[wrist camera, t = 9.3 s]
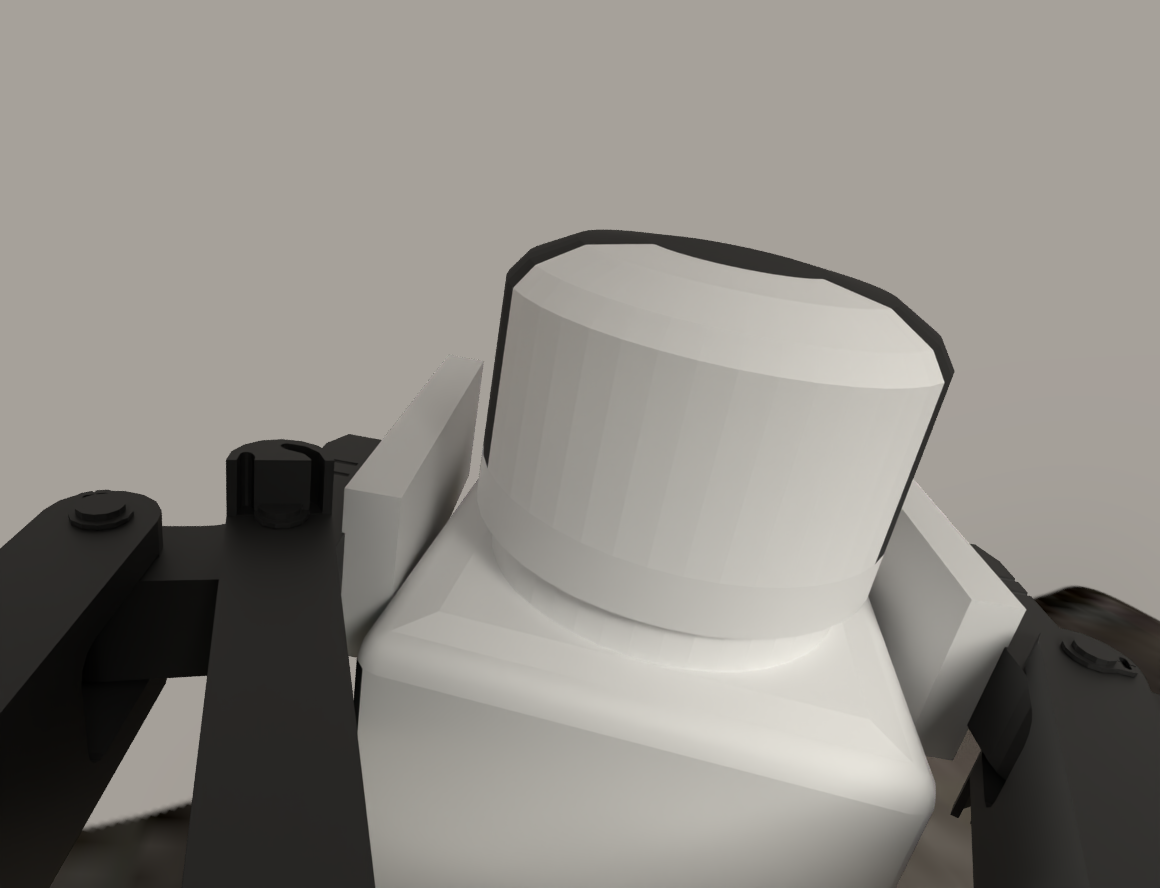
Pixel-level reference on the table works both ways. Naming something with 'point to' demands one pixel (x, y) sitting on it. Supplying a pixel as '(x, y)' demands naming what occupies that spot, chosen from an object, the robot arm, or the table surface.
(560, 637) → the medicine bottle
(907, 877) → the table surface
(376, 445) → the robot arm
